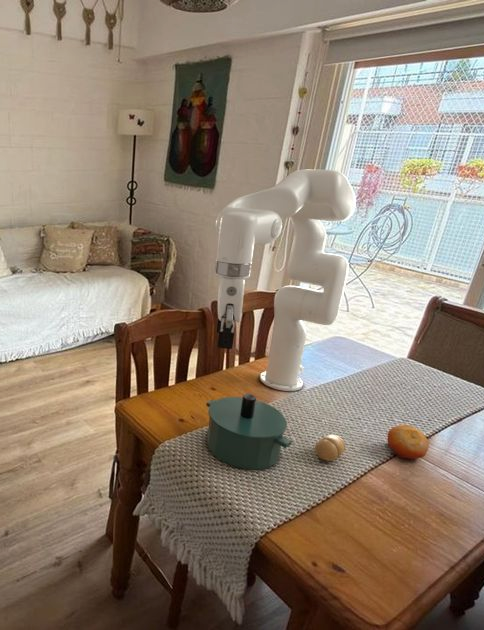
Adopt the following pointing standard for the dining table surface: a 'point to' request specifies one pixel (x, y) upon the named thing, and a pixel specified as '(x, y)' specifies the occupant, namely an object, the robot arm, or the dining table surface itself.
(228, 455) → the pot
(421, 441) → the fruit
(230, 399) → the lid
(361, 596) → the dining table surface
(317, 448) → the tan rounded piece
